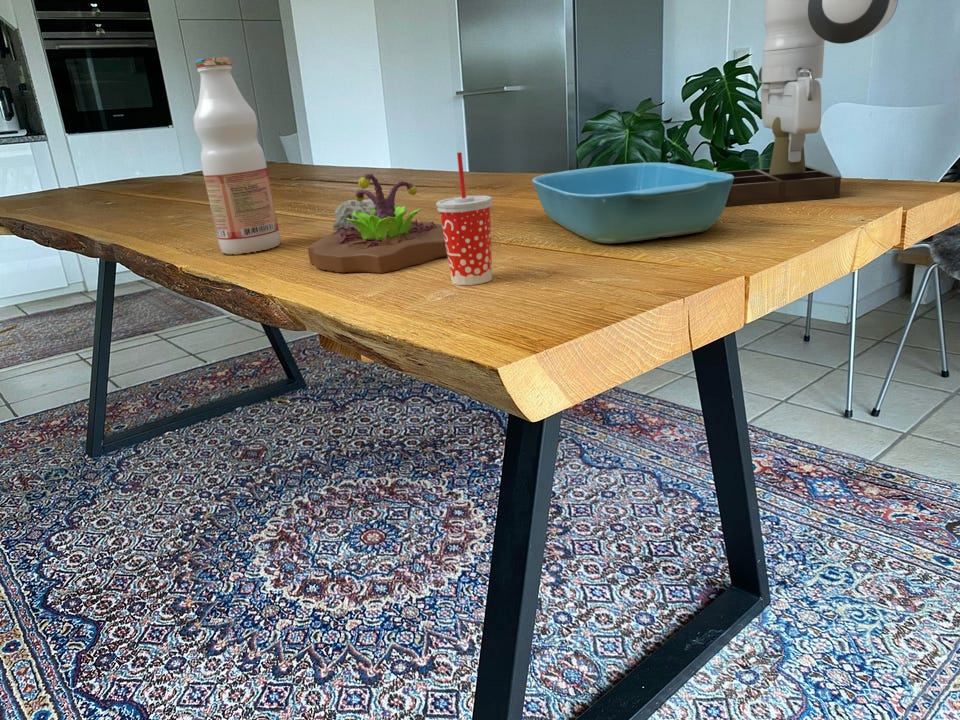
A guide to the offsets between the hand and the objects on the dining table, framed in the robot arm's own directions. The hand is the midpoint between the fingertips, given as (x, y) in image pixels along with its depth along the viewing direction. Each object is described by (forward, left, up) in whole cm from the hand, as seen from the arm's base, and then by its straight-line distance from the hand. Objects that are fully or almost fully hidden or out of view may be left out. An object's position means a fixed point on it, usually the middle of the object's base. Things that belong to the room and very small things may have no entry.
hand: (787, 159), depth 120 cm
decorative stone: (+71, +6, -5) cm, 71 cm away
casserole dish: (+28, +21, -5) cm, 35 cm away
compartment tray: (+4, +4, -5) cm, 7 cm away
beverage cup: (+47, +48, -5) cm, 67 cm away
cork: (0, 0, -4) cm, 4 cm away
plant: (+61, +31, -5) cm, 68 cm away
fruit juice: (+86, +18, -5) cm, 88 cm away
